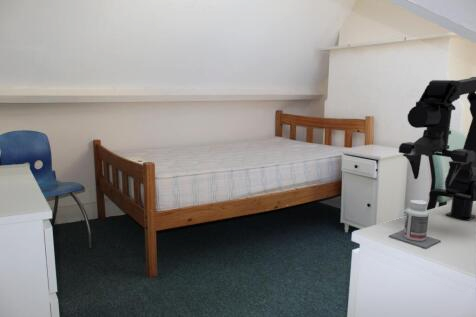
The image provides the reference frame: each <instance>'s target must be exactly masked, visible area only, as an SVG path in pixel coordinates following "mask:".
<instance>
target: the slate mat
mask: <svg viewBox="0 0 476 317" xmlns="http://www.w3.org/2000/svg"><path fill="white" fill-rule="evenodd" d="M388 238H391V239H393V240H397V241H399V242H403V243H407V244H410V245H412V246H416V247H419V248H421V249H425V250H427V249H429V248H431V247H433V246H435V245H438V244H439V243H441V241H442V240H441V239H438V238H434V237H432V236H428V235H426V239H425V240H423V241H414V240H410V239H407V238H405V237H404V229H402V230H401V229H400V230H399V231H397V232H394V233H392V234H389V235H388Z"/></svg>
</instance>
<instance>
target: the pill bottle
mask: <svg viewBox="0 0 476 317" xmlns="http://www.w3.org/2000/svg"><path fill="white" fill-rule="evenodd" d="M427 207H428V202H427V201H425V200H421V199H410V201H409V207H408V208H407V209H406V211H405V218H404V219H405V220H404V229H403V230H404V237H405V238H407V239H410V240H414V241H423V240H425V239H426V236H427V232H428V223H429V211H428V210H426V209H427Z"/></svg>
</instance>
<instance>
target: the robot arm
mask: <svg viewBox="0 0 476 317" xmlns="http://www.w3.org/2000/svg"><path fill="white" fill-rule="evenodd" d="M462 95H467V97H466V98H467V99H466V100H467V101H468V103H469V104H470V105H469V111H470V112H469V113H470V115H471V118H472V119H471V121H470V122H471V123H470V126H469V128H468V131H467V134H466V138H465V141H464V145H463V147H462V148H456V149H452V150H451V149H450V145H448V144H449V137H450V136H451V135H452V130H450V128H451V120H452V112H453V111H455V110H456V106H455V105H454V104H453V102H455V101H457V100H458V99H460V98H461V96H462ZM407 122H408V124H409V125H410V126H411V127H413V128H415V129H419V128H420V129H421V128H426V129H423V133H422V137H419V138H418V139H417V140H415V142H412V141H406V142H402V143H401V144H400V145H399V147H398V153H399V154H402V156H403V157H405V158H406V159H407V160H408V163H409V164H410V168H411V170H412V174H413V178H414V179H415V180H417V179H418V177H419V176H420V175H419V174H420V167H421V161H422V156H425V157H432V156H437V157H446V158H450V160H451V161H448V165H449V169H448V173H447V174H446V175H447V176H446V178H445V181H444V188H445V195H447V196H450V197H451V205H450V206H451V207H450V211H449V212H447V213H445V216H447V217H451V218H455V219H459V220H464V221H470V220H472V219H474V218H476V214H472V213H473V208H474V207H473V206H474V202H476V76H471V77H469V78H465V79H459V80H458V79H457V80H452V79H445V80H444V79H442V80H441V79H432V80H430V81H429V82H428V84H427V85H426V87H425V89H424V91H423V92H422V95H421V96H420V99H419V100H418V101H415V106H413V107H411V109H410V110H409V111H408V113H407Z"/></svg>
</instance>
